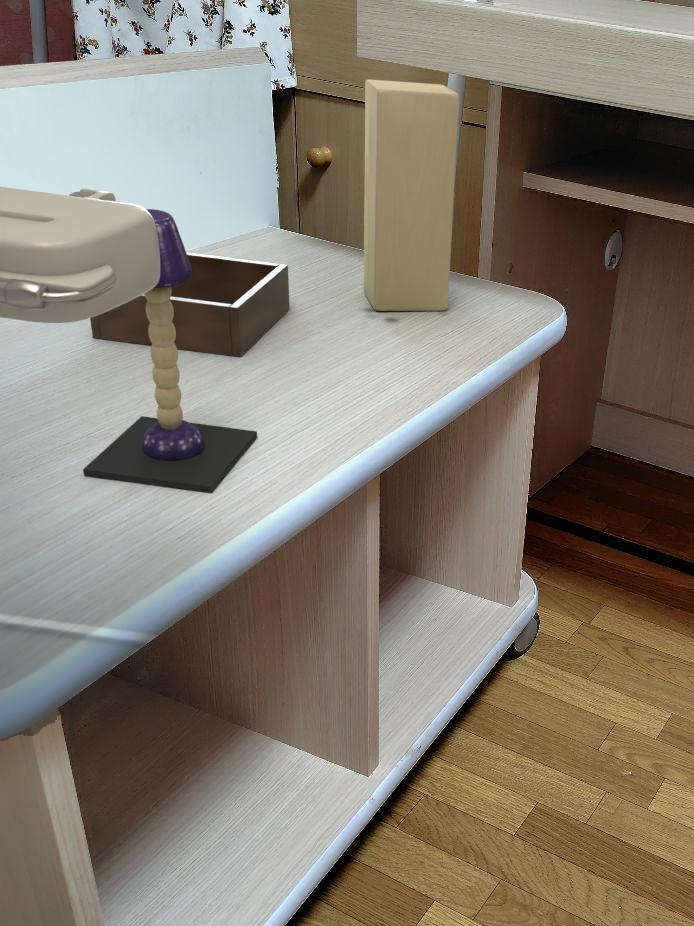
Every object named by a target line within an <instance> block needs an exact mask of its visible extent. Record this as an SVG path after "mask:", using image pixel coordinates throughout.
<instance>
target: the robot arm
mask: <svg viewBox="0 0 694 926" xmlns="http://www.w3.org/2000/svg"><path fill="white" fill-rule="evenodd" d="M146 209H147V208H145V207H143V206H141V205H139V204H136V203H135V204H134V203H131V202H129V203H128V202H120V201H116V196H115V194H114V193H113V192H111V191H105V190H97V189H90V188H81V189H79V191H74V192H72V193H70V194H68V195H66V194H59V193H53V192H51V193H50V192H43V191H37V190H36V191H35V190H29V189H28V190H27V189H22V188H21V189H20V188H14V187H13V188H12V187H6V186H0V318H1V319H9V320H15V321H16V320H17V321H24V322H32V323H40V324H41V323H42V324H68V323H74V322H75V323H76V322H81V321H84V320H88V319H90V318H92V317H95V316H97V315H100V314H103V313H105V312H107V311H110V310H112V309H114V308H116V307H119V306H121V305H123V304H125V303H127V302H129V301H131V300H133V299H135V298H137V297H139V296H141V295H143V294H144V293H146V292H148V291H150V290H151V289H153V288H154V287H155V286H156V285H157V284H158V282H159V279H160V251H159V242H158V235H157V229H156V225H155V222H154V219H153V217H152V216H151V215H150V213H149V212H148V211H147V210H146Z"/></svg>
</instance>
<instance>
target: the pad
mask: <svg viewBox="0 0 694 926" xmlns="http://www.w3.org/2000/svg"><path fill="white" fill-rule="evenodd" d="M157 422H158V419H157V417H153V416H152V417H151V416H143V415H141V416H139V418H138V419H137V420H136V421H134V422H133V423H132V424H131V425H130V426H129V427H128V428H126V430H124V431H123V432H122V433H121V434H120V435H119V436H118V437H117V438H115V440H114V441H112V442H111V444H109V445H108V446H107V447H106V448H105V449H104V450H102V451H101V453H99V454H98V455H96V457H95V458H94V459H93V460H91V461H90V462H89V463H88V464H87V465H86V466H85V467H84V468H83V469H82V471H83V476H86V477H92V478H101V479H109V480H116V481H122V482H131V483H136V484H137V483H138V484H144V485H152V486H153V485H154V486H160V487H165V488H166V487H167V488H174V489H182V490H190V491H195V492H196V491H197V492H204V493H213V492H214V490H215V489H216V488H217V487H218V485H219V484H220V483H221V482H222V481H223V479H224V478H225V477H226V476H227V475H228V473H230V471H231V470H232V468H233V467H234V466H235V465H236V464H237V462H239V460H240V459H241V458H242V457H243V455H244V454H245V453H246V452H247V450H248V449H249V448H250V446H251V445H252V444H253V443H254V442H255V440H256V439H257V438H258V431H257V430H249V429H241V428H235V427H225V426H220V425H219V426H218V425H213V424H212V425H211V424H205V423H204V424H203V423H196V422H190V421H188V422H189V423H191V424H193V425H194V426H195V427H196V428H197V429H198V430H199V431H200V433H201V435H202V437H203V439H204V443H205V446H204V449H203V450H202V451H201V452H200V453H199V454H198V455H195V456H193V457H191V458H187V459H182V460H161V459H156V458H153V457H150V456H148V455H147V454H146V453H145V452H144V451H143V448H142V444H143V438H144V436H145V433H146V431H147V430H148V429H149V428H150V427H151V426H152V425H154V424H155V423H157Z"/></svg>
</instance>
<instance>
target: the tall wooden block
mask: <svg viewBox="0 0 694 926" xmlns="http://www.w3.org/2000/svg"><path fill="white" fill-rule="evenodd" d="M364 87H365V88H364V89H365V90H364V93H365V95H364V96H365V97H364V98H365V99H364V107H365V108H364V202H363V203H364V204H363V206H364V207H363V208H364V213H363V218H364V219H363V226H364V227H363V292H364V294H365V296H366V298H367V299H368V301H369V304H370V305H371V307H372V308H373V310H374V311H376V312H377V311H378V312H396V311H397V312H401V311H402V312H403V311H404V312H406V311H407V312H408V311H412V312H413V311H415V312H417V311H418V312H419V311H424V312H425V311H428V312H429V311H434V312H435V311H447V310H448V308H449V295H450V293H449V291H450V276H451V275H450V274H451V257H452V242H453V241H452V240H453V222H454V205H455V203H454V201H455V184H456V168H457V167H456V166H457V153H458V152H457V151H458V150H457V148H458V133H459V131H458V130H459V115H460V95H459V94H458V93H457V92H456V91H454V90H453V89H451V88H449V87H447V86H446V85H444V84H439V83H438V84H437V83H424V82H423V83H422V82H410V81H398V80H397V81H396V80H383V79H382V80H380V79H369V78H368V79H366V80H365V86H364Z"/></svg>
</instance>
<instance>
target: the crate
mask: <svg viewBox="0 0 694 926" xmlns="http://www.w3.org/2000/svg"><path fill="white" fill-rule="evenodd" d="M186 254H187V256H188V259H189V262H190V265H191V269H192V276H191V279H190V280H189V281H187V282H186V283H184V284H181V285H179V286H174V287H171V289H172V292H171V297H170V299H169V300H170V301H171V303H172V306H173V310H174V315H173V320H172V323H173V324H174V327H175V331H176V338H175V341H174V344H175V345H176V347H177V350H184V351H193V352H201V353H208V354H216V355H224V356H230V357H231V356H232V357H239V358H241V357H242V356H244V355H245V354H246V353H247V351H249V350H250V349H251V348H252V347H253V346H254V345H255V344H256V343H257V342H258V341H259V340H260V339H261V338H262V337H263V336H264V335H265V334H266V333H267V332H268V331H270V329H272V328H273V326H274V325H276V324H277V322H279V320H280V319H282V318H283V316H284V315H286V313H287V312H288V311H289V310H290V309H291V307H290V305H291V304H290V283H289V282H290V281H289V265H288V264H283V263H282V264H280V263H273V262H266V261H258V260H250V259H241V258H233V257H226V256H218V255H211V254H210V255H209V254H203V253H193V252H188V251H186ZM147 301H148V300H147V299H146V297H145V295H144V294H143V295H141V296H139V297H137V298H135V299H133V300H131V301H129V302H127V303H125V304H123V305H121V306H119V307H116V308H114V309H112V310H110V311H107V312H105V313H103V314H100V315H97V316H95V317H92V318H89V322H90V328H91V334H92V338H93V339H98V340H99V339H102V340H108V341H114V342H115V341H116V342H123V343H129V344H138V345H146V346H152V342H151V341H150V338H149V334H148V328H149V324H150V321H149V320H148V318H147V315H146V303H147ZM285 312H286V313H285Z"/></svg>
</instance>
